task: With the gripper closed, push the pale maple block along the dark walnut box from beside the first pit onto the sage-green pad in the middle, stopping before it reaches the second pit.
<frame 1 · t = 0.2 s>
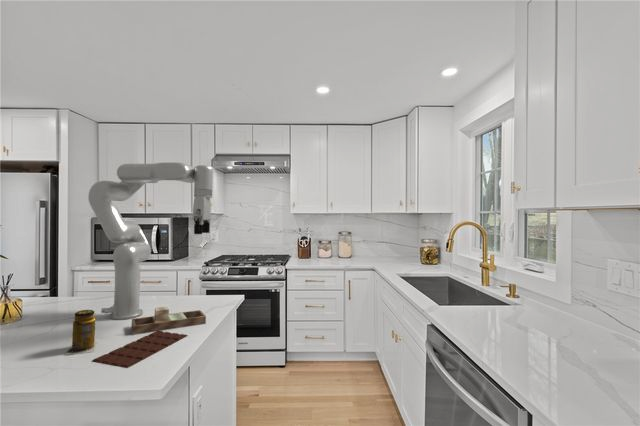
hand: (202, 233, 142), 37 cm above the counter, tool pointing down, fingers open, 9 cm apart
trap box: (169, 325, 132), on the counter
chocolate bar: (144, 349, 110), on the counter
block: (161, 318, 130), point 3 cm above the counter, touching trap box
condiment: (82, 349, 107), on the counter
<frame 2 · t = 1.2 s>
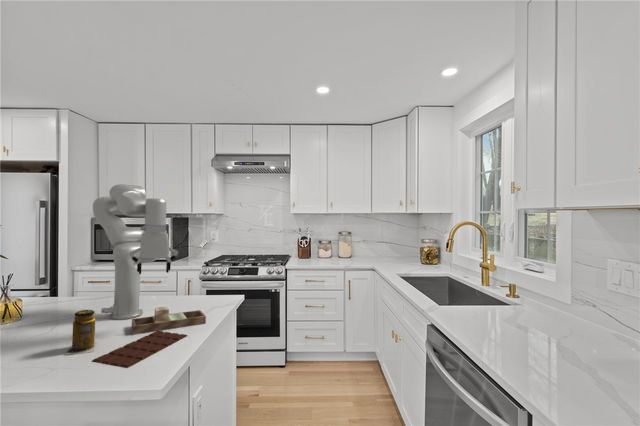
hand: (153, 272, 129), 21 cm above the counter, tool pointing down, fingers open, 9 cm apart
nothing on the counter moved.
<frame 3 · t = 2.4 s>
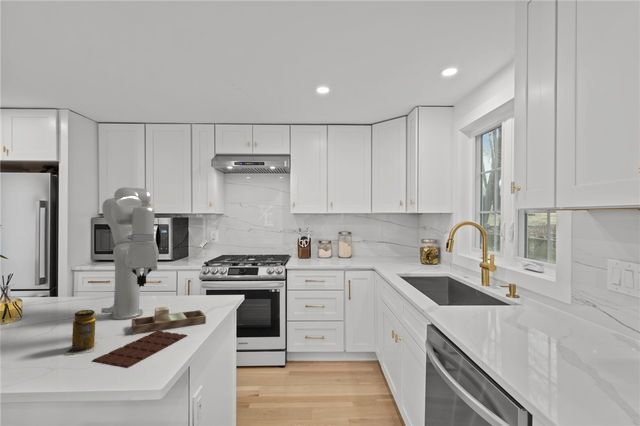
hand: (141, 285, 126), 17 cm above the counter, tool pointing down, fingers closed
nothing on the counter moved.
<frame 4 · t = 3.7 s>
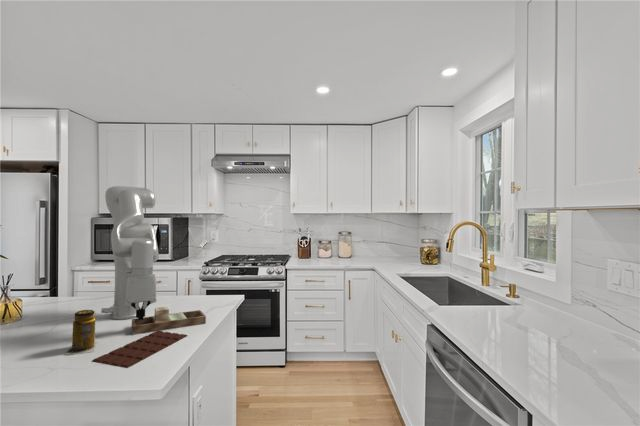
hand: (140, 319, 126), 4 cm above the counter, tool pointing down, fingers closed
nothing on the counter moved.
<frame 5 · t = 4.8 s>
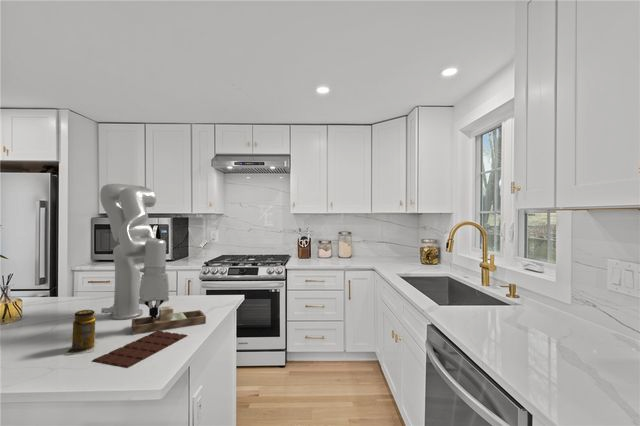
hand: (153, 317, 128), 4 cm above the counter, tool pointing down, fingers closed
block: (165, 318, 131), point 3 cm above the counter, touching gripper
everything else where it was.
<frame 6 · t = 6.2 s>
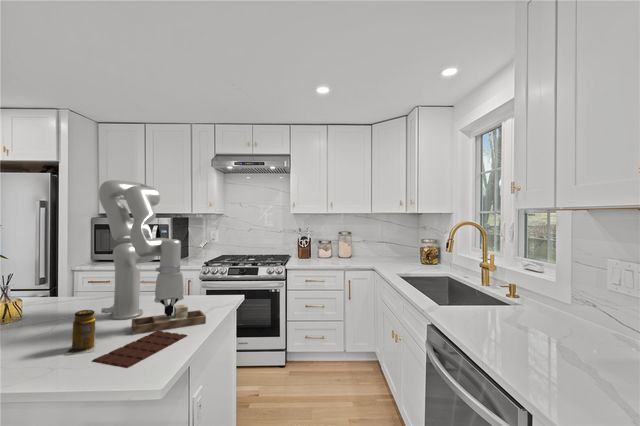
hand: (168, 315, 131), 4 cm above the counter, tool pointing down, fingers closed
block: (180, 316, 134), point 3 cm above the counter, touching gripper, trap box
everything else where it was.
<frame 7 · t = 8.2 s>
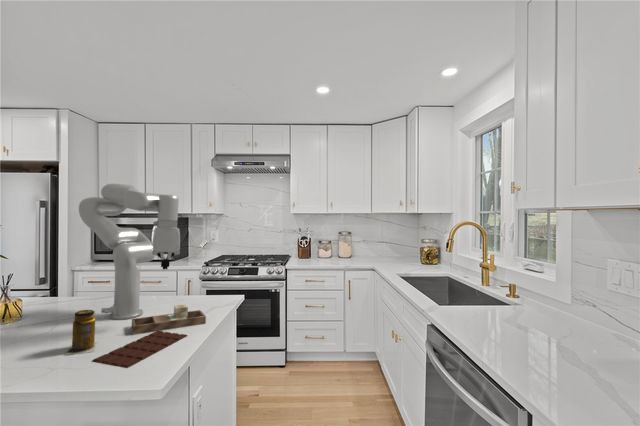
hand: (165, 268, 135), 22 cm above the counter, tool pointing down, fingers closed
block: (180, 316, 134), point 3 cm above the counter, touching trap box
everything else where it was.
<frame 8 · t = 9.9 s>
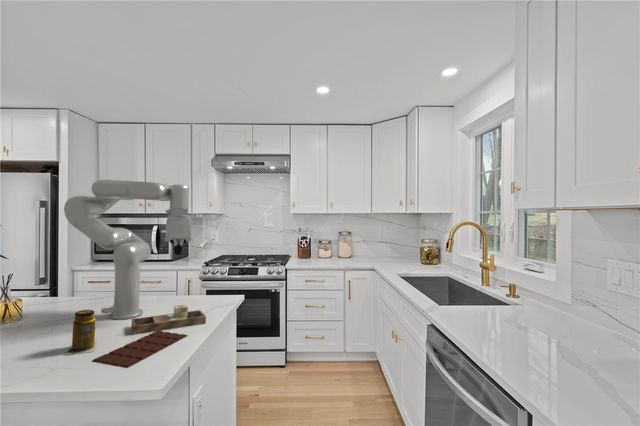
hand: (177, 254, 143), 27 cm above the counter, tool pointing down, fingers closed
nothing on the counter moved.
at the end: block 1.3 cm from the target spot on the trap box, point 3.0 cm above the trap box's base; block tilted 0°; the gripper is holding nothing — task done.
